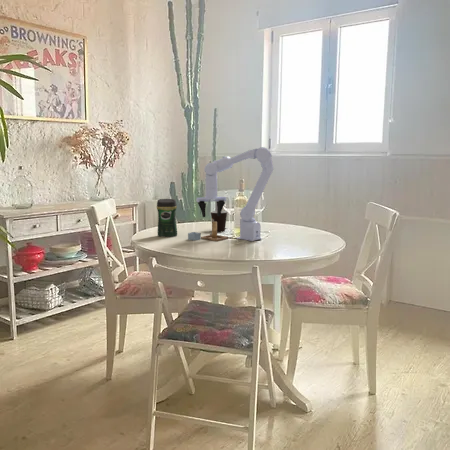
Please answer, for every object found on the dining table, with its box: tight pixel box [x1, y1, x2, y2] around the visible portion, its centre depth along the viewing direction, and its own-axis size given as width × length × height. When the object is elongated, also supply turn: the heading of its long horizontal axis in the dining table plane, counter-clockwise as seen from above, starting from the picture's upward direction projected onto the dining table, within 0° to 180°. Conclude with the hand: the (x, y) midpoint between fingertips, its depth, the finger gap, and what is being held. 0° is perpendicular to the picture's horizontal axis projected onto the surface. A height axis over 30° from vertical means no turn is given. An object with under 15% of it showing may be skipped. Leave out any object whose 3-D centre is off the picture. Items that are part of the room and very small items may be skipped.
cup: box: [187, 231, 202, 241], centre depth 227 cm, size 4×4×4 cm
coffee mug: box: [210, 210, 228, 233], centre depth 254 cm, size 12×9×10 cm
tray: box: [200, 234, 229, 242], centre depth 229 cm, size 10×8×1 cm
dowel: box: [211, 221, 218, 239], centre depth 228 cm, size 2×2×8 cm
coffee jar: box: [156, 198, 178, 238], centre depth 236 cm, size 10×8×19 cm
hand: (211, 216), depth 232 cm, fingers open, 7 cm apart
